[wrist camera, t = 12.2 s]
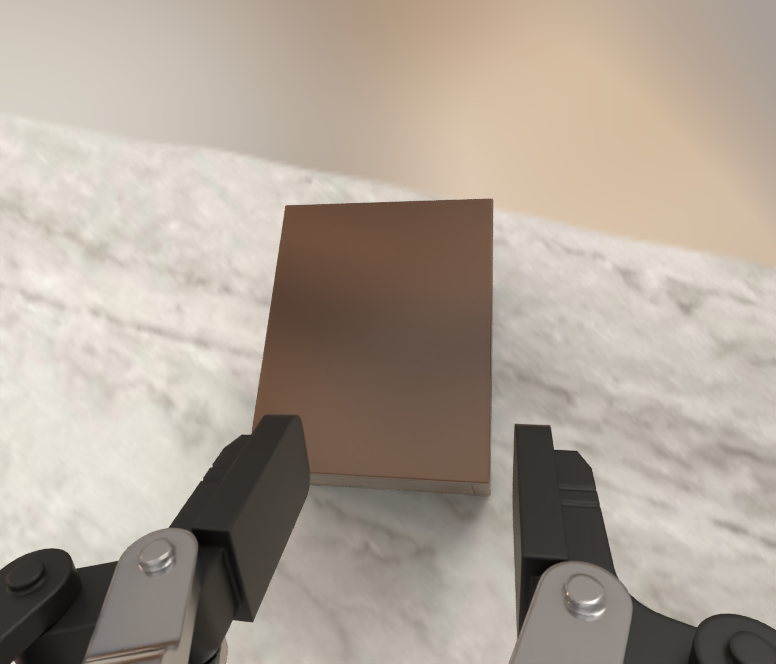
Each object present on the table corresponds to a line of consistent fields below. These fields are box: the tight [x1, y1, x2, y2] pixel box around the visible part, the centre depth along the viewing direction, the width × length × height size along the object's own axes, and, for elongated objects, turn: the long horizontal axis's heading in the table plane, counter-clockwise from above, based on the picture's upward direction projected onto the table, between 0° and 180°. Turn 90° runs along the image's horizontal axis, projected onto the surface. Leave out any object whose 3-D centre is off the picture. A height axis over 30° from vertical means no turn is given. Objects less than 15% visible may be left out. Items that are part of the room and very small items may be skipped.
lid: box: [252, 199, 493, 485], centre depth 26 cm, size 13×11×1 cm
